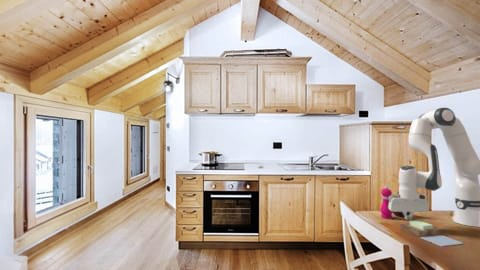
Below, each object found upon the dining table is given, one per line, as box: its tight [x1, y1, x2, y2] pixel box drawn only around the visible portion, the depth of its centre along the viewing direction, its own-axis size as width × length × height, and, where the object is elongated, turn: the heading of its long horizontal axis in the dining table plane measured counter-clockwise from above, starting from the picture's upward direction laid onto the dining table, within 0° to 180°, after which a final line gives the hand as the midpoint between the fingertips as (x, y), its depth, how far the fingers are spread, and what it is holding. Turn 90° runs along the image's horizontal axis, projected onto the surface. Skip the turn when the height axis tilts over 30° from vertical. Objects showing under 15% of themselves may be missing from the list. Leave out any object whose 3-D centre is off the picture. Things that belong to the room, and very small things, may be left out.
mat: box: [419, 234, 465, 247], centre depth 134 cm, size 13×12×1 cm
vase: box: [392, 191, 410, 218], centre depth 176 cm, size 11×11×15 cm
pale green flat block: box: [408, 219, 434, 230], centre depth 146 cm, size 6×9×2 cm, turn 12°
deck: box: [400, 223, 443, 238], centre depth 146 cm, size 14×12×3 cm
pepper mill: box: [379, 185, 393, 220], centre depth 173 cm, size 7×7×20 cm
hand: (408, 219), depth 154 cm, fingers closed
